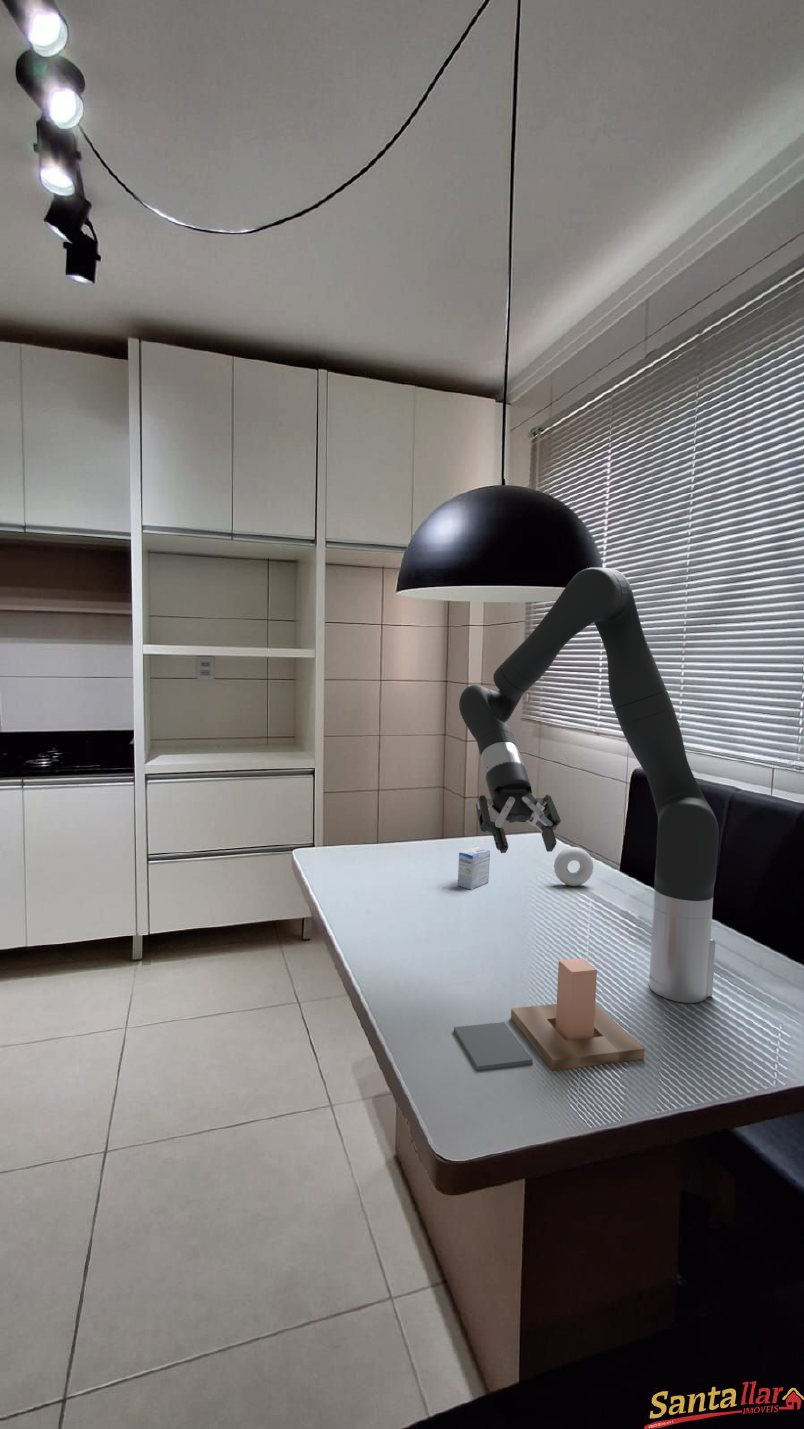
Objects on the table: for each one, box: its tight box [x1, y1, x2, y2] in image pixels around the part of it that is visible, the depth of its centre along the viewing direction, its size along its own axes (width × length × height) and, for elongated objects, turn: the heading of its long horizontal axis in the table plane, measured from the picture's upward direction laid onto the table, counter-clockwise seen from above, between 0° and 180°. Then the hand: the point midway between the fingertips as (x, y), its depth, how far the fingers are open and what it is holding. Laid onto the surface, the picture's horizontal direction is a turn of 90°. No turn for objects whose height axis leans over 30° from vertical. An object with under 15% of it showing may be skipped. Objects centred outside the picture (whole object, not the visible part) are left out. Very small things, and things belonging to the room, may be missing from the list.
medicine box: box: [457, 846, 491, 890], centre depth 168 cm, size 8×4×9 cm, turn 141°
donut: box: [553, 846, 594, 887], centre depth 170 cm, size 10×4×10 cm, turn 92°
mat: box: [453, 1021, 534, 1072], centre depth 95 cm, size 8×10×1 cm
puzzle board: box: [510, 1002, 645, 1072], centre depth 98 cm, size 14×14×2 cm
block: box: [555, 957, 598, 1041], centre depth 98 cm, size 4×4×11 cm
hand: (528, 850), depth 113 cm, fingers open, 8 cm apart
